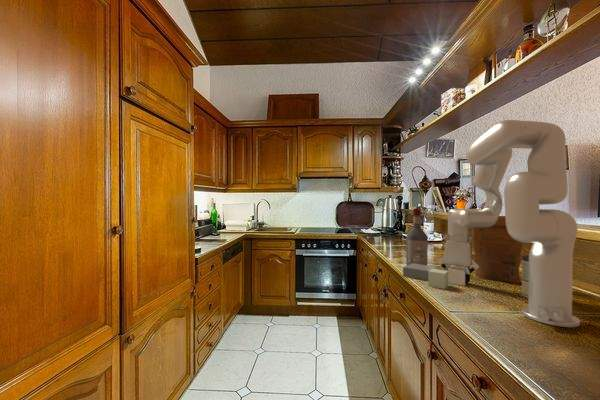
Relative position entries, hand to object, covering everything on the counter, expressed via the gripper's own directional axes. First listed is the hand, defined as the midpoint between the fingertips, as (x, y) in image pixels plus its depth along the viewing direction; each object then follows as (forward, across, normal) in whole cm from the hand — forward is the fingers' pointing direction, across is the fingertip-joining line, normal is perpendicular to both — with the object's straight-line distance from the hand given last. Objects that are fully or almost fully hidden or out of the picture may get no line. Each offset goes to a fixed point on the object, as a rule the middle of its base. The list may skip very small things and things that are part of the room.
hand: (457, 281), depth 117 cm
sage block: (+1, +5, +10) cm, 11 cm away
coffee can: (+1, -26, +1) cm, 26 cm away
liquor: (+1, +22, -17) cm, 28 cm away
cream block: (+1, 0, 0) cm, 1 cm away
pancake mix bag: (+1, -12, -17) cm, 21 cm away
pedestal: (+1, +15, -1) cm, 15 cm away
